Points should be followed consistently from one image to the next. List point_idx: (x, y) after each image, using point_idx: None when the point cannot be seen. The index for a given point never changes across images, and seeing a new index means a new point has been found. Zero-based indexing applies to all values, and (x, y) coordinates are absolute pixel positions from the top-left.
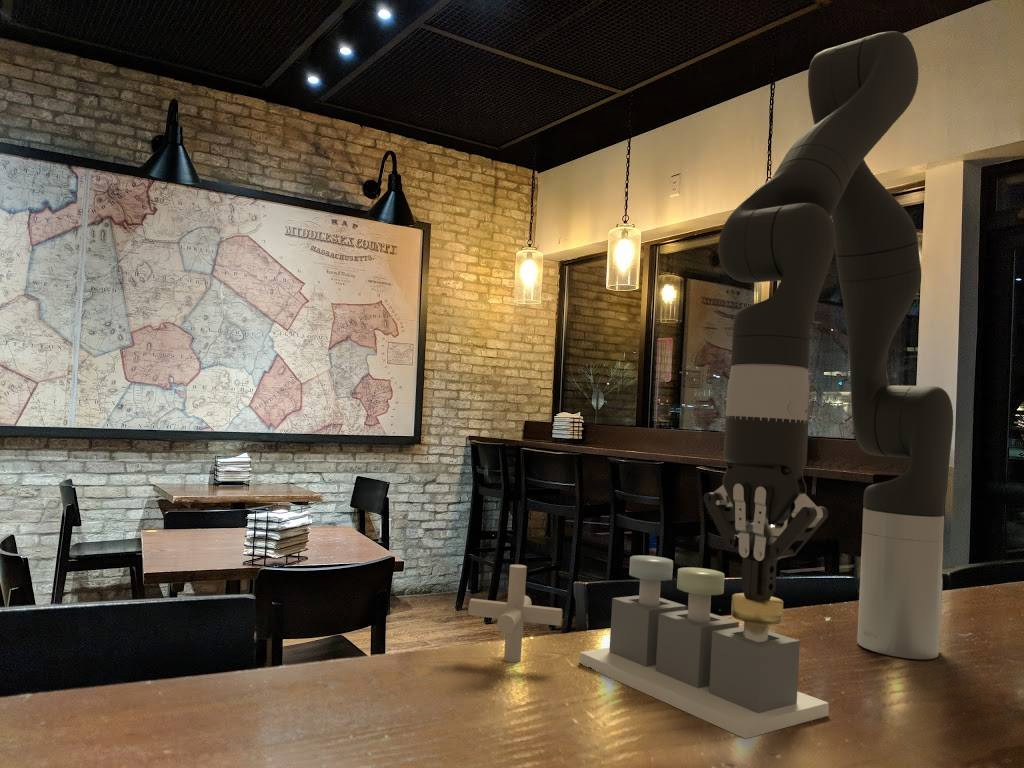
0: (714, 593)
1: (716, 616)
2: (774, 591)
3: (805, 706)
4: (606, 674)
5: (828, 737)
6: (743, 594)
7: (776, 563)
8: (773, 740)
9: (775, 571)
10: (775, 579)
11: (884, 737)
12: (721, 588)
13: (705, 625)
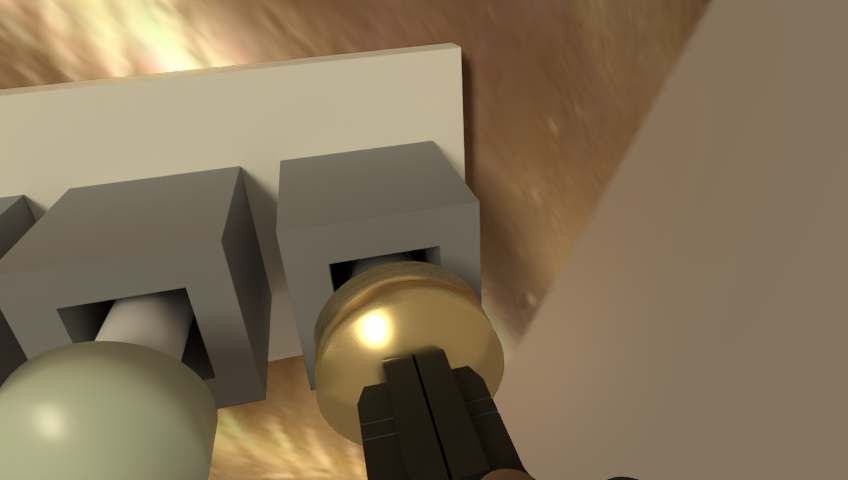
0: (215, 419)
1: (126, 272)
2: (479, 377)
3: (453, 133)
4: None
5: (528, 153)
6: (339, 390)
7: (524, 471)
8: (487, 265)
9: (511, 443)
10: (498, 413)
11: (589, 25)
12: (201, 401)
13: (247, 377)
